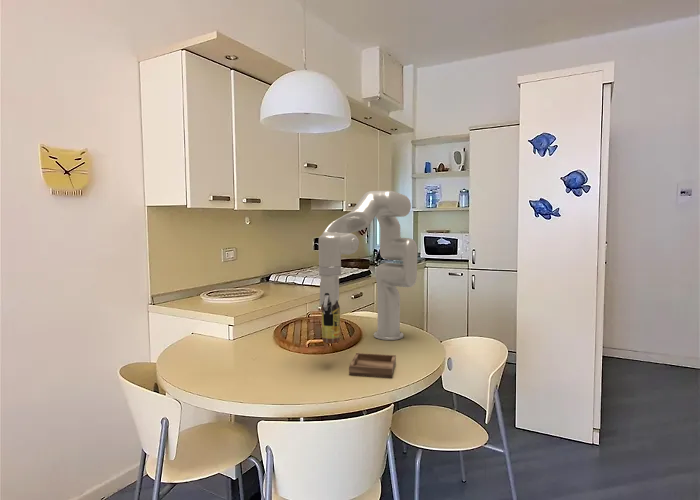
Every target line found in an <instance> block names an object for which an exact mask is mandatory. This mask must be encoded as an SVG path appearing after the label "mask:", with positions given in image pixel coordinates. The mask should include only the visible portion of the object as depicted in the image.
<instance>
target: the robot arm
mask: <svg viewBox="0 0 700 500" xmlns="http://www.w3.org/2000/svg"><path fill="white" fill-rule="evenodd" d="M411 204H412V203H411V200H410V199H409V197H408V196H407V195H405V194H403V193H399V192H397V191H393V190H370V191H367V192H365V193H364V194H363V195H362V197H361V198H360V199H359V200H358V201H357V203H356V204H355V206H354V207H353V208H352V210H350V212H348V213H346V214H344V215H342V216H341V217H339V218H337V219H335V220H334V221H332V222H331V223H329V224H328V225H327V227H326V228H325V229H324V230H323V232H322V233H321V235H320V236H318V276H319V277H320V281H319V283H320V284H319V305H320V306H321V307H322V305H323V304H324V305H323V307H324V326H333V314H332V310H333V305H335V304H336V300H337V301H338V302H339V300H340V279H339V277H340V276H342V261H341V260H342V255H352V254H354V253H356V252H357V251H358V250H359V247H360V240H359V238H358V237H357V235H355V234H354V233H356V232H360V231H363V230H365V229H366V228H368V227H369V226H370V225H371V223H372V222H373V220H374V219H375V217H376V220H377V221H378V224H379V229H380V230H379V231H380V232H379V233H380V234H379V254H380V257H381V258H382V259H384V260H389V261H398V262H399V261H402V263H395V262H394V263H393V262H383V263H381V264H379V265H378V266H377V267H376V268H375V280H376V287H377V331H374V333H373V337H374V338H376V339H378V340H381V341H382V340H383V341H398V340H401V339H403V338H404V333H403V332H401V331H400V328H401V326H400V325H401V317H400V316H401V295H400V292H399V290H398V288H397V287H400V288H401V287H402V288H412V287H414V285H416V282H417V277H418V245H417V243H416V241H415V240H414V239H412V238H409V237H402V236H401V224H400V222H399V220H398V218H399V217H401V218H402V217H403V218H404V217H407V215H409V214H410V212H411V207H412V205H411ZM397 217H398V218H397ZM328 303H331V305H328ZM328 307H330V308H328Z"/></svg>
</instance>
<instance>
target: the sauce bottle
mask: <svg viewBox="0 0 700 500" xmlns="http://www.w3.org/2000/svg"><path fill="white" fill-rule="evenodd" d="M323 305H324V304H323ZM323 305H322V306H321V338H322V342H323V343H325V344H336V343H339V342H340V339H341V338H340V337H341V311H340V310H341V307H340V304H339V300H338V301H337V300H336V304H335V305H333V310H332V314H333V326H324V307H323ZM328 305H331V303H328ZM328 308H330V307H328Z"/></svg>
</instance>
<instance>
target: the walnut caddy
mask: <svg viewBox="0 0 700 500" xmlns="http://www.w3.org/2000/svg"><path fill="white" fill-rule="evenodd" d="M396 357H397V356H396V354H395V355H394V354H377V353H364V352H356V353H355V355H354V357H353V358H352V360H351V362H350V363H349V366H348V375H349V376H356V377H357V376H359V377H369V378H371V377H372V378H380V379H381V378H382V379H383V378H384V379H393V376H394V372H395V368H396V363H397V362H396V361H397V360H396V359H397V358H396Z"/></svg>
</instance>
